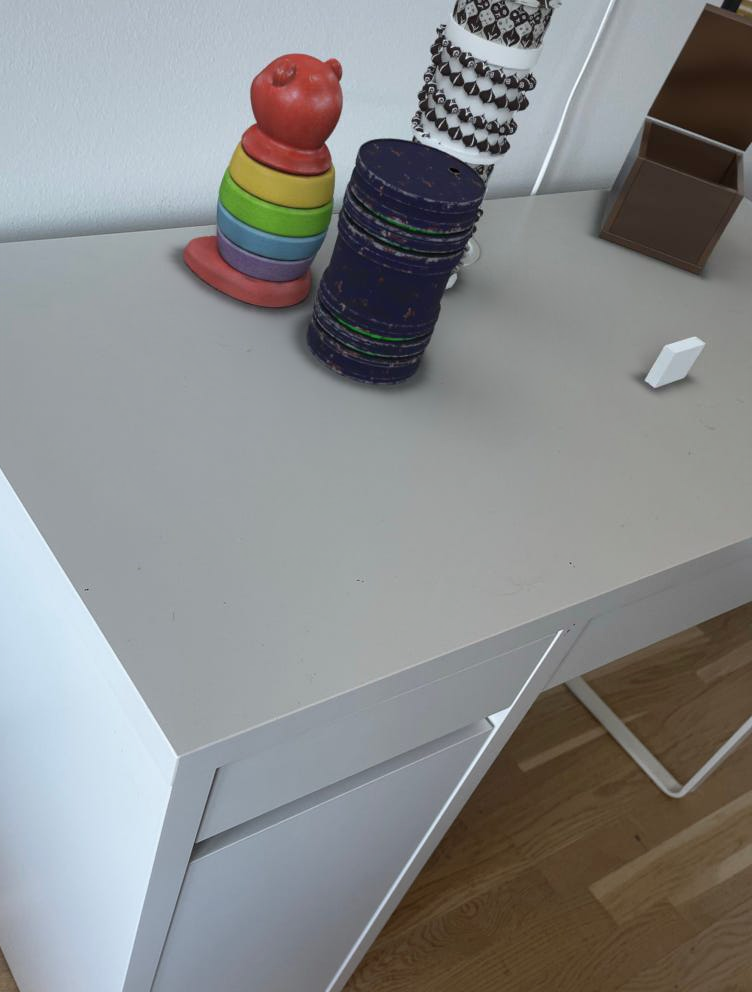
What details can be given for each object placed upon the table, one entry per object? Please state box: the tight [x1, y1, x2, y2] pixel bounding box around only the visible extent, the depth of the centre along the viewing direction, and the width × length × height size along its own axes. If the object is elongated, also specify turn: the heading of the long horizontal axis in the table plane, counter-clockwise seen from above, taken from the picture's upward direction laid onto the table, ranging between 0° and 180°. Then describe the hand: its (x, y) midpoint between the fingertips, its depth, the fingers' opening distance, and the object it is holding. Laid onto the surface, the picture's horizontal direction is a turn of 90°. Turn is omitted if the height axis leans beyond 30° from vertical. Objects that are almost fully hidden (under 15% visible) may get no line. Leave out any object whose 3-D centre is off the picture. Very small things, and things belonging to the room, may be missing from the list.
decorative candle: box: [410, 0, 563, 290], centre depth 85 cm, size 9×9×25 cm
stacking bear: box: [182, 53, 344, 308], centre depth 79 cm, size 11×10×18 cm
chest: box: [598, 117, 745, 275], centre depth 110 cm, size 14×12×9 cm
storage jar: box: [305, 137, 487, 386], centre depth 76 cm, size 10×10×15 cm
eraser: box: [644, 335, 706, 389], centre depth 89 cm, size 1×5×4 cm, turn 127°
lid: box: [646, 0, 752, 153], centre depth 104 cm, size 14×12×5 cm
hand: (746, 41), depth 102 cm, fingers closed on lid, 5 cm apart
